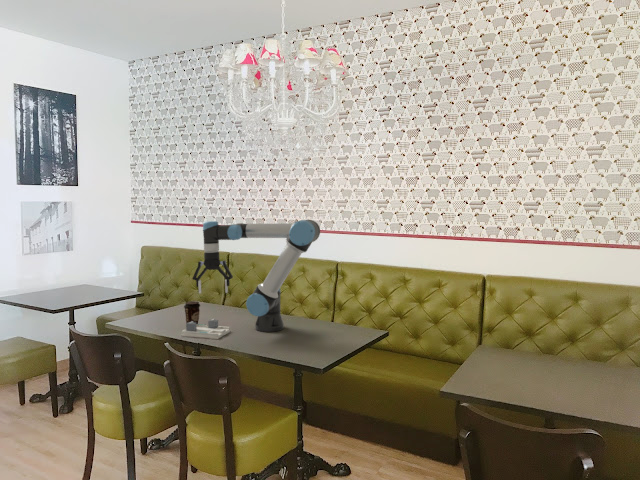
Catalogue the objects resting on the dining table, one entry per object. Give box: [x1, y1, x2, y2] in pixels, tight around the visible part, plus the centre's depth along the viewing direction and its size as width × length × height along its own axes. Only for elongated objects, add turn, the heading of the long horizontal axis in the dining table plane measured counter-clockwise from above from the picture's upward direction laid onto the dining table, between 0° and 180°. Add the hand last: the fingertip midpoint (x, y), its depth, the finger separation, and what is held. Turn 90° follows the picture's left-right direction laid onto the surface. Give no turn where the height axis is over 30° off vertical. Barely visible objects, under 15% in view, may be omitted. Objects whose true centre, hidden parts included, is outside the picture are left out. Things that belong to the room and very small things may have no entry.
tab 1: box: [185, 321, 197, 332], centre depth 250 cm, size 4×3×5 cm
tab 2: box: [207, 318, 219, 329], centre depth 256 cm, size 4×3×5 cm
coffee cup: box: [183, 300, 201, 324], centre depth 266 cm, size 9×8×13 cm
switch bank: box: [180, 323, 231, 340], centre depth 253 cm, size 20×14×3 cm
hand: (213, 292), depth 255 cm, fingers open, 13 cm apart
